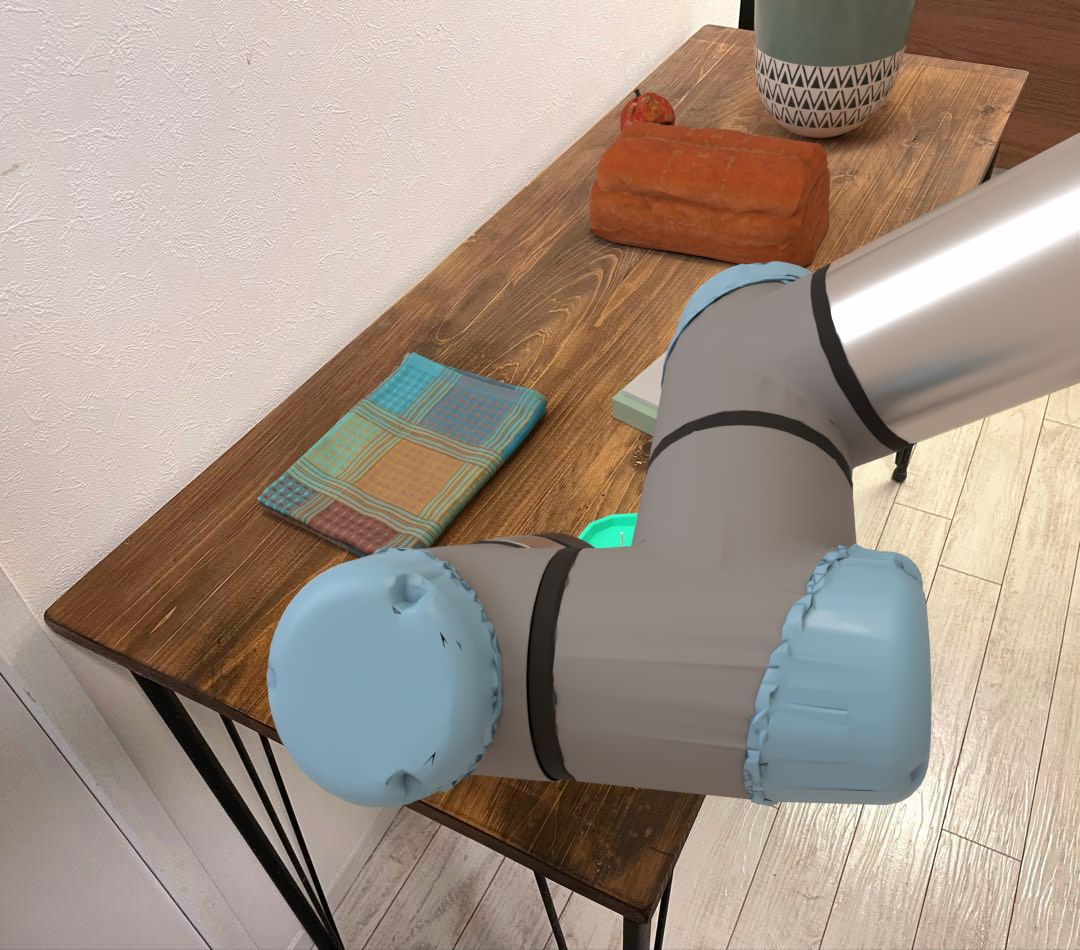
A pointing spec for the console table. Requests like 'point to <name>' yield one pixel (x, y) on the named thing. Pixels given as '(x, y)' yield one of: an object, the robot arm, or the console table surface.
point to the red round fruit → (647, 110)
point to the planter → (828, 60)
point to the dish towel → (405, 458)
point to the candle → (610, 531)
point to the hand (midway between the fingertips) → (640, 576)
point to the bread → (713, 194)
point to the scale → (641, 398)
